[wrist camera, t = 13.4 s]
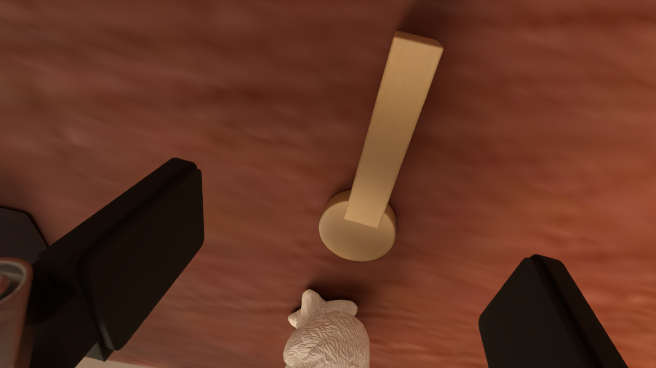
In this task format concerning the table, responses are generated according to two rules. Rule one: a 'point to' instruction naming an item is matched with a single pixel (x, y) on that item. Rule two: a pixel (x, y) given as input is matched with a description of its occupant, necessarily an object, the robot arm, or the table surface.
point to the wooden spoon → (382, 153)
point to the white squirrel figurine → (326, 335)
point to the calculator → (19, 237)
